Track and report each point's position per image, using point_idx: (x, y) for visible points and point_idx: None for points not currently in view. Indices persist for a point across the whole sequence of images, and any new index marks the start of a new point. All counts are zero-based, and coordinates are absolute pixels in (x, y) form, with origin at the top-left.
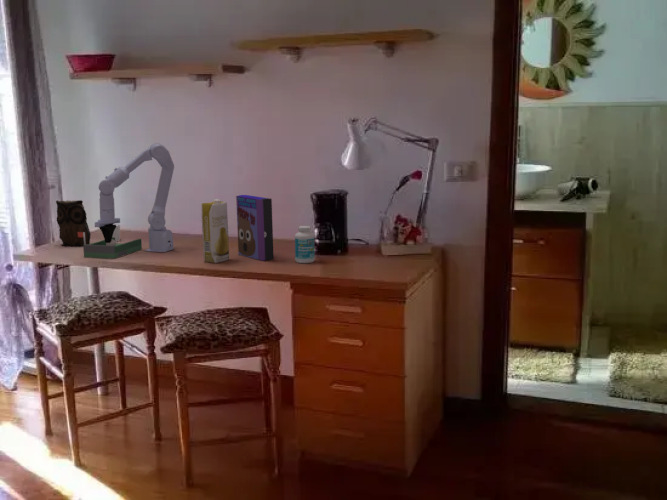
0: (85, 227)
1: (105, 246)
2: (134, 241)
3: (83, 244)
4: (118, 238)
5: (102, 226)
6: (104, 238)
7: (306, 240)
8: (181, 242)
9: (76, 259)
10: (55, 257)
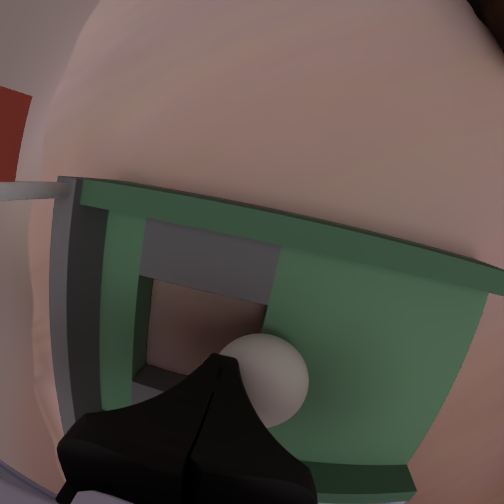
0: None
1: (58, 395)
2: (331, 500)
3: (494, 26)
4: None
5: (70, 481)
6: (195, 371)
7: None
8: (493, 495)
9: (53, 169)
10: (116, 5)
